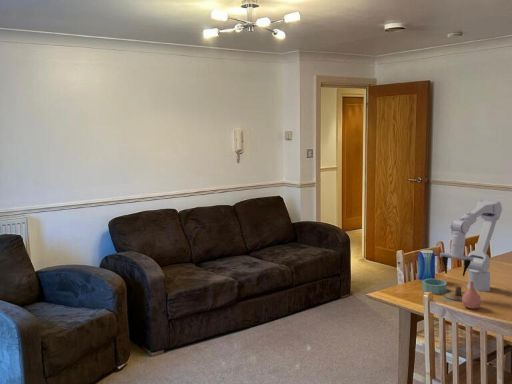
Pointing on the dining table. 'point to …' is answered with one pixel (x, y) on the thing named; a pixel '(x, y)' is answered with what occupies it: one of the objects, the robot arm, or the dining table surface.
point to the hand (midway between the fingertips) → (454, 274)
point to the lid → (455, 294)
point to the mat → (448, 299)
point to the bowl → (434, 286)
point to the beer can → (426, 265)
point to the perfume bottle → (471, 298)
